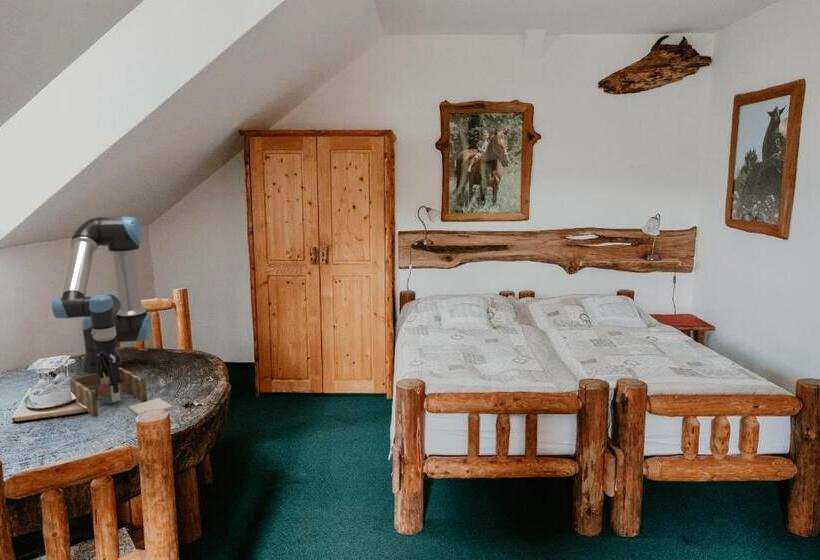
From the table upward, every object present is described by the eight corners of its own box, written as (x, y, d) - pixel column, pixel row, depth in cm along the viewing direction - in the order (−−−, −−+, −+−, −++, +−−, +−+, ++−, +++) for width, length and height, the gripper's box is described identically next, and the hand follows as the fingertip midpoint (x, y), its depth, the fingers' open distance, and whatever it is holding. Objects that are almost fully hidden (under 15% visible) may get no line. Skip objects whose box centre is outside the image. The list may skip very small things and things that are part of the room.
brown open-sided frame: (71, 399, 225) (69, 376, 223) (122, 386, 238) (120, 364, 237) (94, 416, 210) (91, 391, 208) (147, 401, 223) (145, 377, 221)
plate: (128, 409, 216) (128, 406, 216) (159, 400, 224) (158, 398, 224) (142, 418, 209) (141, 415, 209) (172, 408, 217) (172, 405, 216)
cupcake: (107, 407, 217) (104, 375, 215) (93, 402, 222) (90, 371, 219) (129, 399, 224) (126, 368, 222) (115, 394, 229) (112, 364, 226)
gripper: (83, 334, 223) (89, 393, 227) (105, 346, 208) (112, 408, 213) (104, 330, 228) (110, 387, 232) (127, 341, 214) (133, 402, 218)
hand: (111, 397), depth 223 cm, fingers closed on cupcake, 8 cm apart
